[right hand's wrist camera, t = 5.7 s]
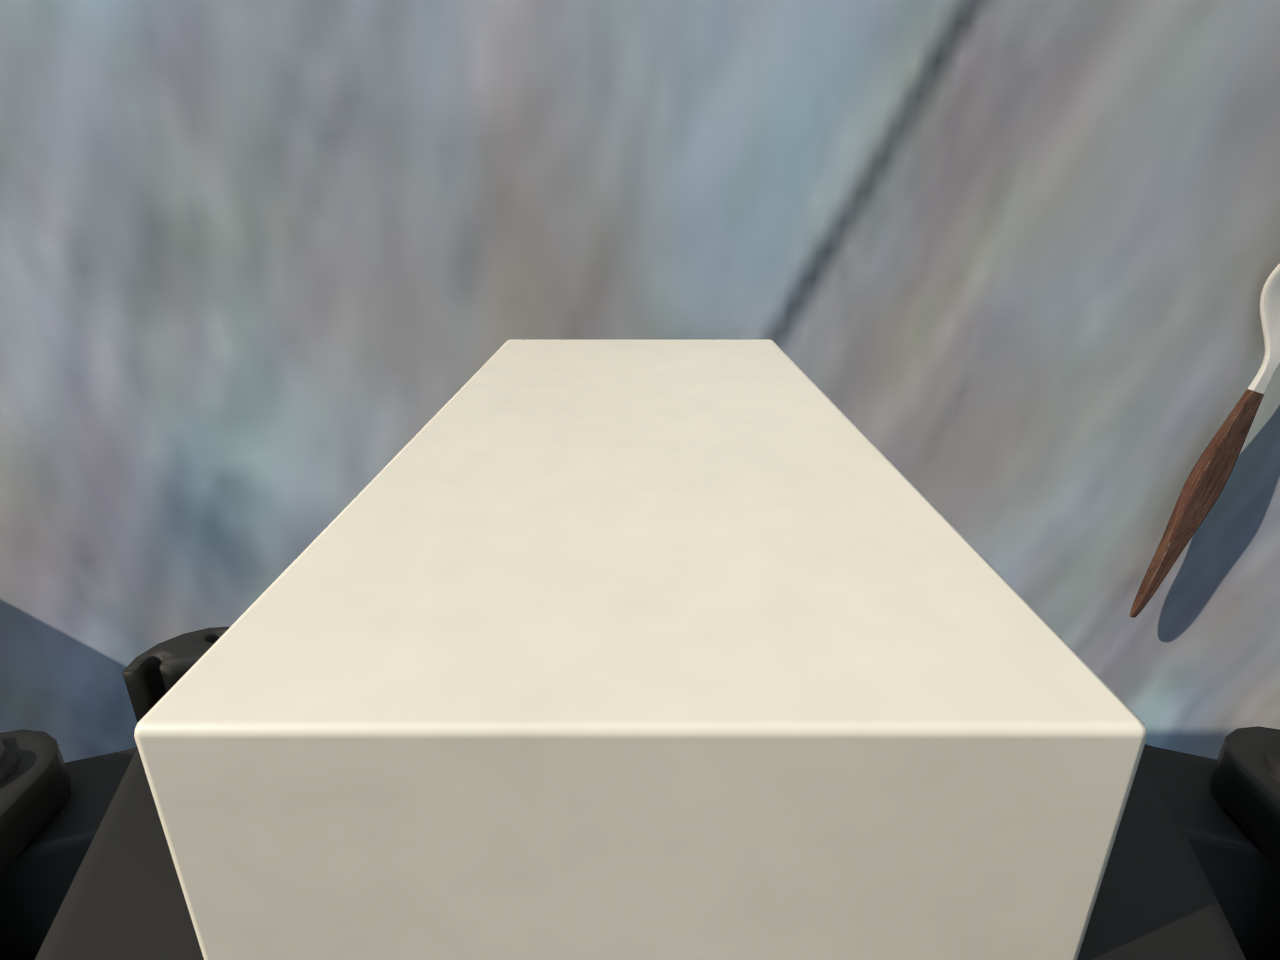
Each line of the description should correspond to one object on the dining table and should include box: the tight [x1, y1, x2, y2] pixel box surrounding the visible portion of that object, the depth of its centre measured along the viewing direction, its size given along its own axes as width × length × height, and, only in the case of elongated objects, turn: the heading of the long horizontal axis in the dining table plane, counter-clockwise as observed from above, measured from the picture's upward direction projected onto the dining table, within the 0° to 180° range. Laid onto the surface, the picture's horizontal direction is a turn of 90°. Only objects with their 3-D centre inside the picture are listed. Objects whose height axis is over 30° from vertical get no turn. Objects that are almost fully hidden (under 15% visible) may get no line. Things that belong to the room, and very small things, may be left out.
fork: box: [1130, 264, 1280, 618], centre depth 24 cm, size 3×16×2 cm, turn 167°
